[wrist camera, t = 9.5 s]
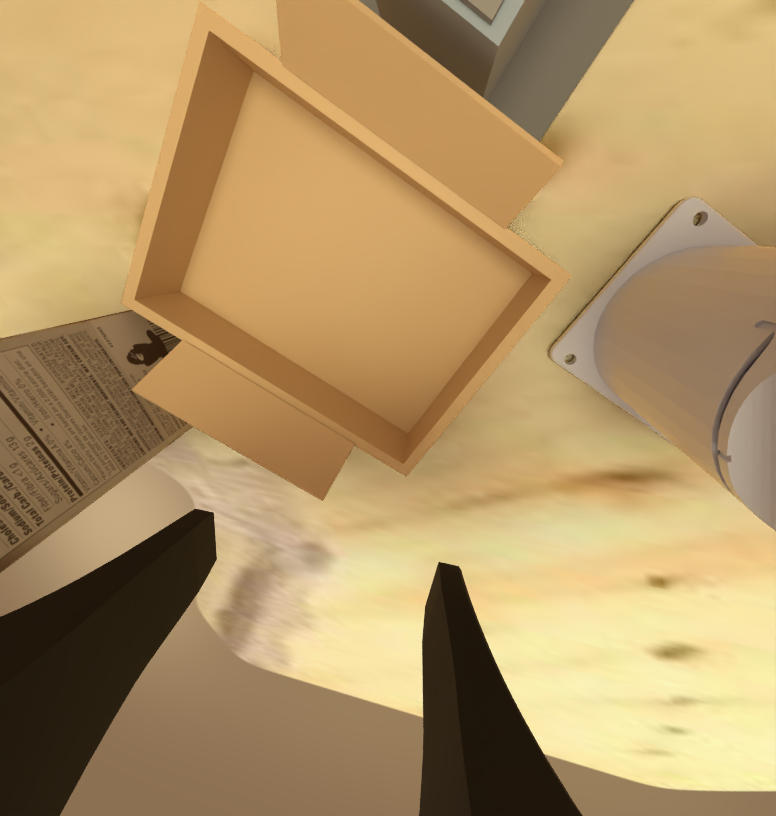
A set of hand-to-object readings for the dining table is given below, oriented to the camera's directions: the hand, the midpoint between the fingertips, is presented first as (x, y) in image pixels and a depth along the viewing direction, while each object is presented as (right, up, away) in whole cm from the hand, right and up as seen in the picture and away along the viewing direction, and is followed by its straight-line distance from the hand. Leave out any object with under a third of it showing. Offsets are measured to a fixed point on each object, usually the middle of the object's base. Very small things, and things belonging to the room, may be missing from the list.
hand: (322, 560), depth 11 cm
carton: (0, +11, +6) cm, 13 cm away
